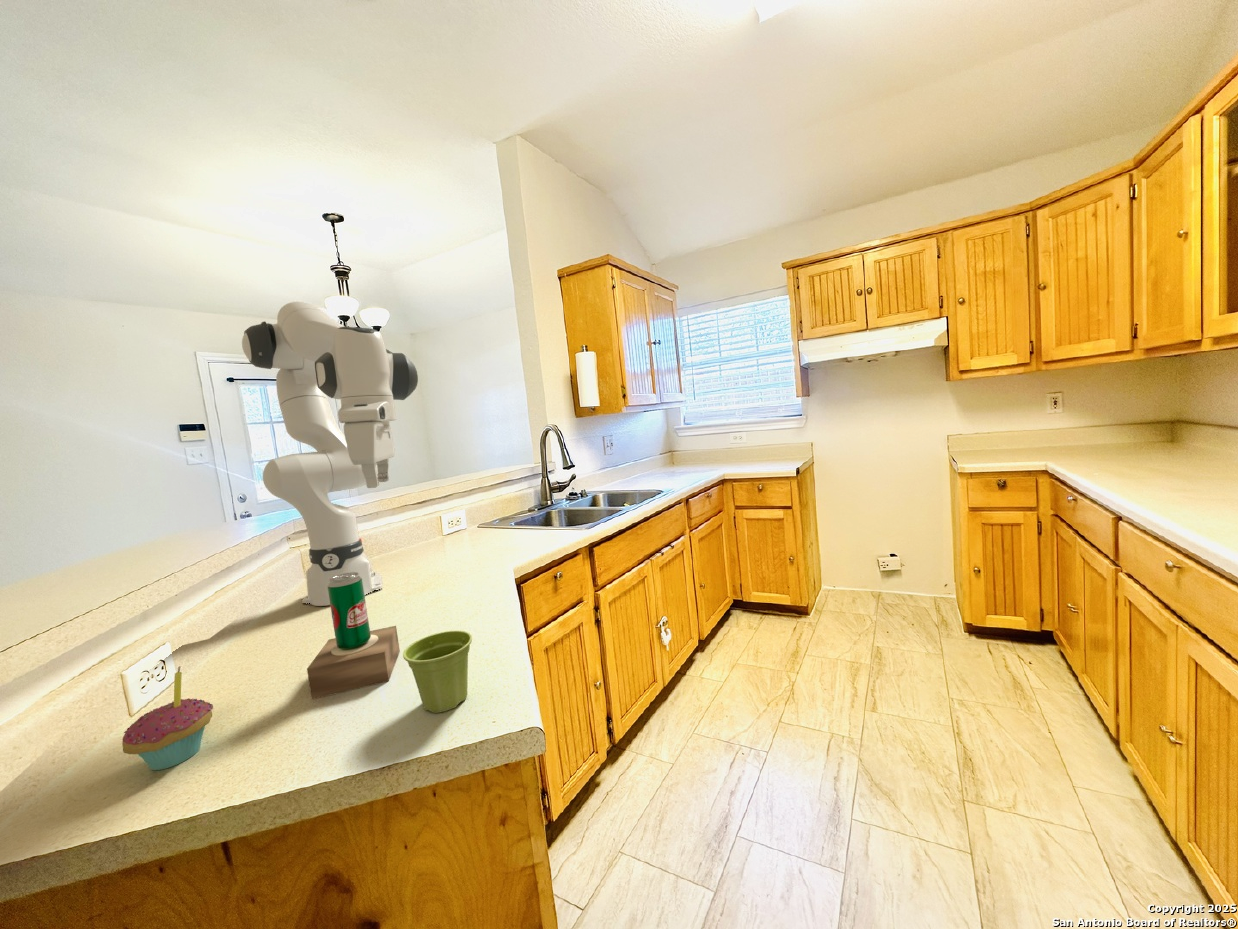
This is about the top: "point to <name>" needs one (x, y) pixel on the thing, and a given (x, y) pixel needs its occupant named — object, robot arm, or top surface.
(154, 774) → the top surface
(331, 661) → the plinth
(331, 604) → the soda can
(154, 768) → the cupcake
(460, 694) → the plant pot
